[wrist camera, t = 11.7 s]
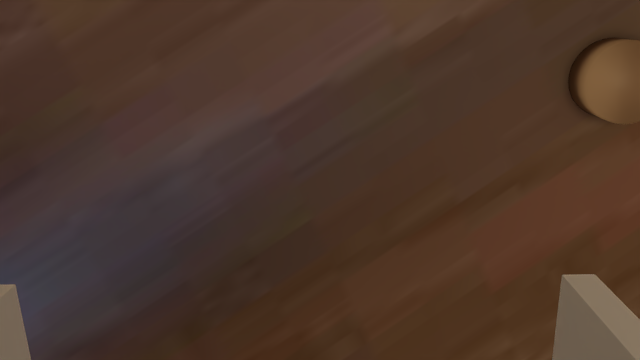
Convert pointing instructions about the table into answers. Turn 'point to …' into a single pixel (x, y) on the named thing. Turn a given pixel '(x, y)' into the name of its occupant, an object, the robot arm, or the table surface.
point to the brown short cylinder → (608, 80)
